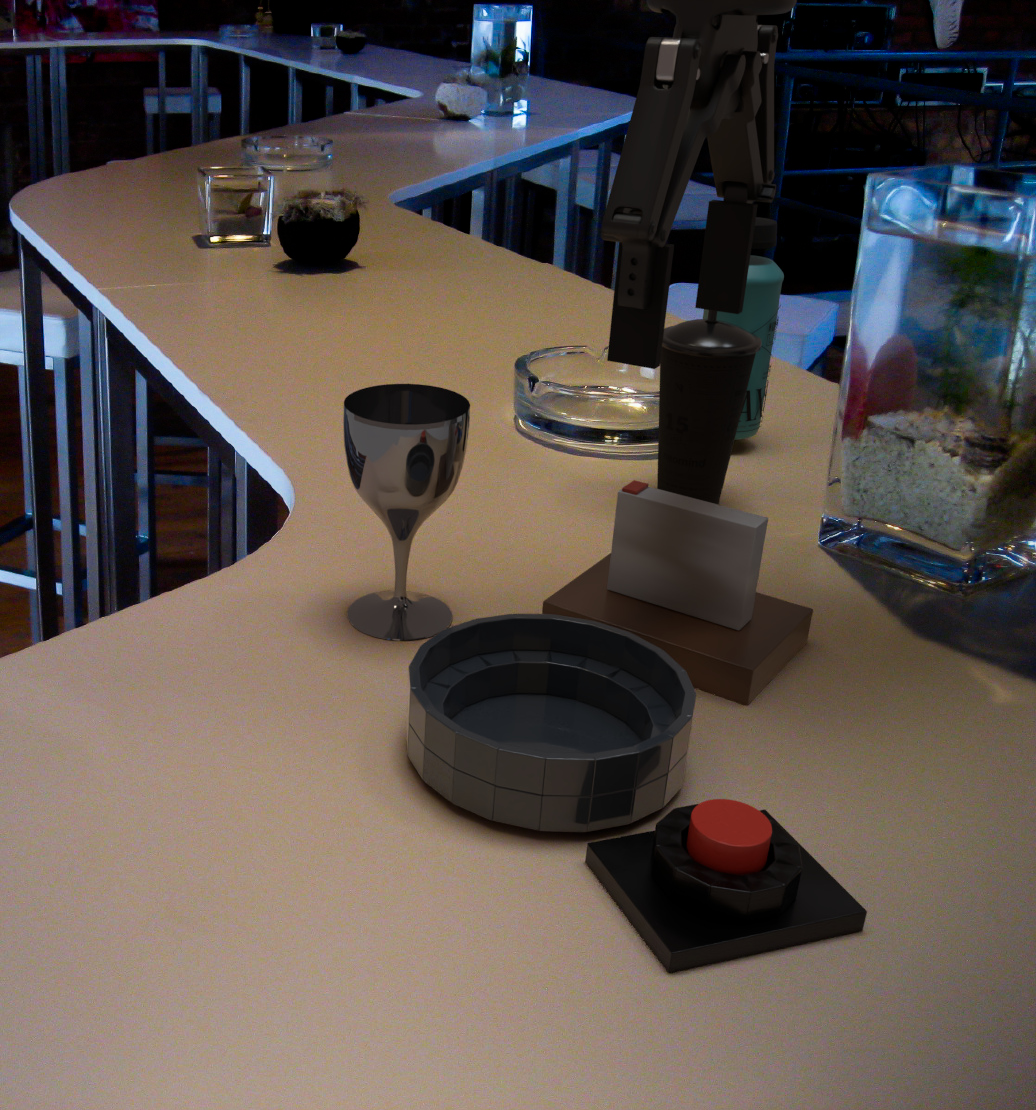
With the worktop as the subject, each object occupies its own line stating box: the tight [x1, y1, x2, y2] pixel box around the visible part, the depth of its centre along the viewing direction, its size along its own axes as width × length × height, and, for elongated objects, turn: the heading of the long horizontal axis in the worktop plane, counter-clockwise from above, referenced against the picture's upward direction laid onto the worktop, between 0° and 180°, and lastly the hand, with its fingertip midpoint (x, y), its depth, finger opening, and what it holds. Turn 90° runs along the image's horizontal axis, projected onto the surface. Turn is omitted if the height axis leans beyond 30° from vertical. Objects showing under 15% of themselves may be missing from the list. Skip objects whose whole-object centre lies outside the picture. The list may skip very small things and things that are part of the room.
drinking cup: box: [656, 310, 762, 505], centre depth 101 cm, size 8×8×20 cm
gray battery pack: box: [607, 479, 769, 631], centre depth 82 cm, size 9×2×7 cm, turn 51°
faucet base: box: [541, 552, 814, 707], centre depth 84 cm, size 14×10×2 cm
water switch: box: [584, 803, 868, 975], centre depth 61 cm, size 10×8×3 cm
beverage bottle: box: [702, 216, 785, 441], centre depth 113 cm, size 6×7×20 cm
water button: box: [687, 798, 772, 875], centre depth 60 cm, size 4×4×2 cm
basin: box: [405, 613, 697, 833], centre depth 71 cm, size 15×15×5 cm
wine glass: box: [342, 383, 471, 642], centre depth 84 cm, size 8×8×15 cm
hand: (678, 335), depth 75 cm, fingers open, 13 cm apart
